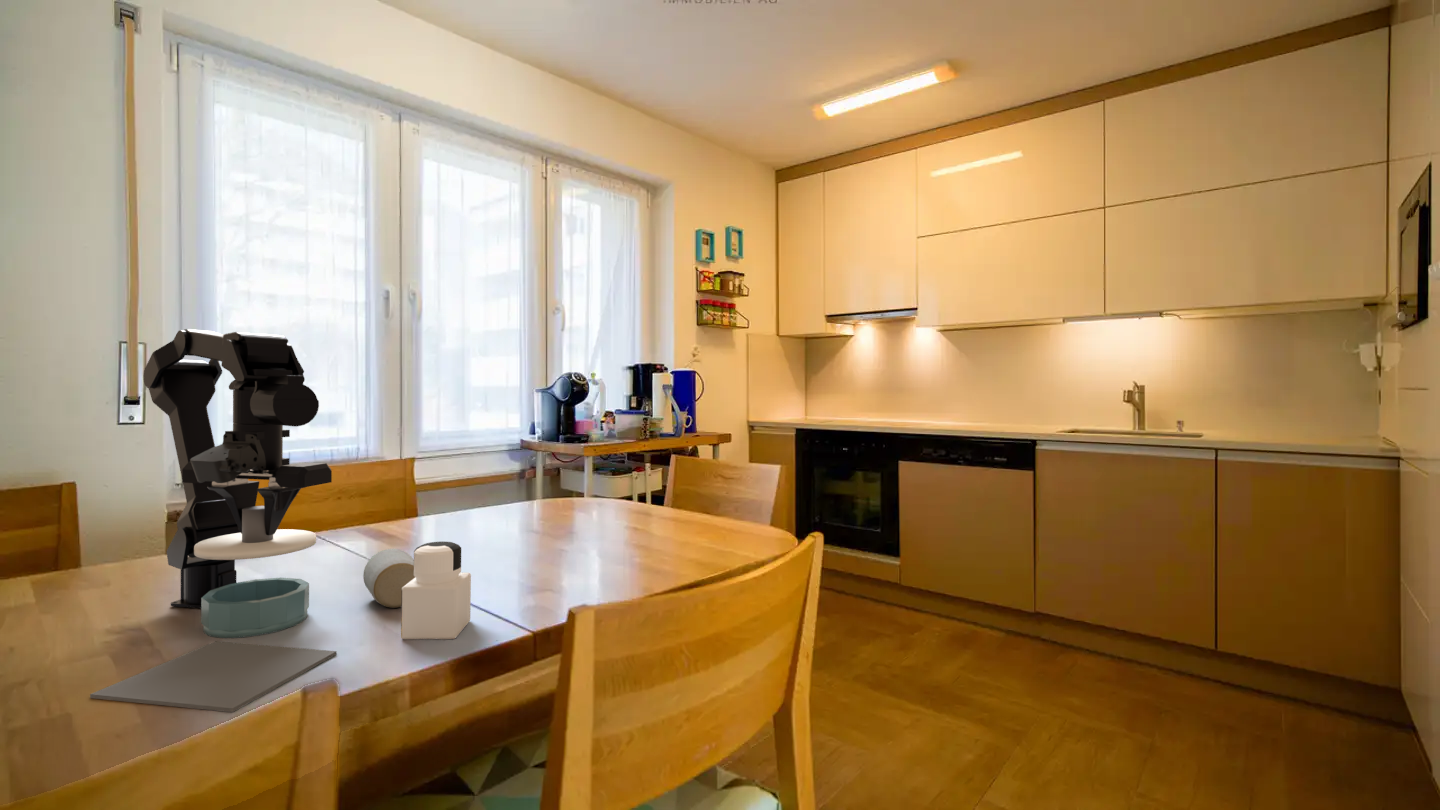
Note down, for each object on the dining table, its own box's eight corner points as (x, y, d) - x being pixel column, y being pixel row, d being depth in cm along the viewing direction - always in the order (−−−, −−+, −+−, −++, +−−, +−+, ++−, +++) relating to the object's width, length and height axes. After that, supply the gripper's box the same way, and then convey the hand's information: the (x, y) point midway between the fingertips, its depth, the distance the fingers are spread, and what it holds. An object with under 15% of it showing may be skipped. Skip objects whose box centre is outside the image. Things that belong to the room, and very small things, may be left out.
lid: (165, 556, 87) (165, 515, 87) (254, 533, 101) (254, 497, 100) (261, 562, 85) (261, 520, 85) (338, 538, 99) (338, 502, 99)
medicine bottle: (419, 621, 95) (420, 538, 94) (471, 620, 95) (472, 538, 95) (400, 640, 88) (401, 550, 87) (455, 639, 88) (456, 550, 88)
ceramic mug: (372, 614, 97) (373, 562, 97) (362, 599, 104) (363, 550, 104) (447, 602, 104) (448, 553, 104) (433, 589, 110) (434, 543, 110)
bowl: (179, 634, 88) (179, 600, 88) (254, 605, 100) (254, 575, 100) (260, 640, 86) (260, 606, 86) (326, 610, 98) (327, 580, 98)
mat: (90, 697, 70) (90, 694, 70) (216, 644, 85) (216, 641, 85) (232, 712, 68) (232, 708, 68) (336, 654, 83) (336, 651, 83)
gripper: (142, 424, 86) (142, 543, 86) (271, 428, 83) (271, 551, 83) (218, 420, 97) (218, 526, 97) (334, 424, 94) (334, 532, 95)
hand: (257, 534), depth 93 cm, fingers closed on lid, 4 cm apart
